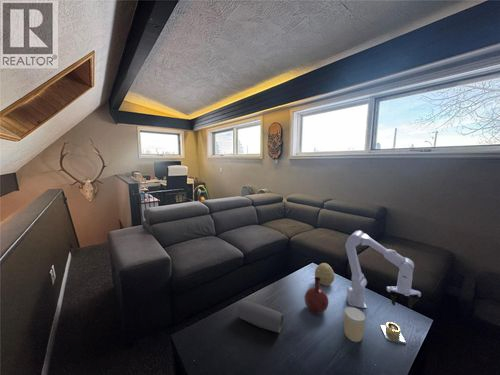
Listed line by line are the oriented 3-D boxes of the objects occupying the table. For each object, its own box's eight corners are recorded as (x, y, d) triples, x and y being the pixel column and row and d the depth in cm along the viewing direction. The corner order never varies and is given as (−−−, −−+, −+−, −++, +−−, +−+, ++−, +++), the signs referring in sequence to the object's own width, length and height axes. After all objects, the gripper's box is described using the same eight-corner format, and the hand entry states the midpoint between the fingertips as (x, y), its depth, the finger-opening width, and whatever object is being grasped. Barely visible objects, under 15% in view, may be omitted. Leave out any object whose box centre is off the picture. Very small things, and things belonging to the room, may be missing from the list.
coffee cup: (361, 329, 101) (363, 308, 99) (365, 346, 92) (367, 323, 91) (341, 324, 104) (343, 304, 102) (343, 340, 95) (345, 318, 94)
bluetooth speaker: (283, 325, 104) (283, 308, 102) (278, 340, 95) (278, 321, 94) (244, 311, 113) (244, 295, 112) (237, 323, 105) (236, 306, 103)
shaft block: (386, 340, 95) (387, 332, 95) (380, 326, 103) (381, 319, 102) (405, 344, 93) (406, 335, 93) (397, 330, 101) (398, 322, 100)
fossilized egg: (331, 292, 129) (333, 271, 127) (312, 285, 136) (313, 265, 134) (335, 282, 140) (336, 262, 138) (317, 276, 147) (318, 257, 144)
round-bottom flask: (302, 315, 110) (304, 282, 107) (305, 299, 123) (306, 270, 120) (327, 322, 106) (329, 288, 103) (327, 305, 118) (330, 274, 115)
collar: (388, 336, 96) (389, 330, 96) (384, 327, 101) (384, 321, 101) (401, 339, 95) (402, 332, 94) (396, 329, 100) (397, 323, 99)
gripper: (391, 284, 100) (388, 308, 102) (425, 289, 97) (422, 314, 99) (386, 276, 107) (383, 299, 109) (417, 280, 103) (414, 304, 105)
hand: (401, 305), depth 104 cm, fingers open, 7 cm apart
